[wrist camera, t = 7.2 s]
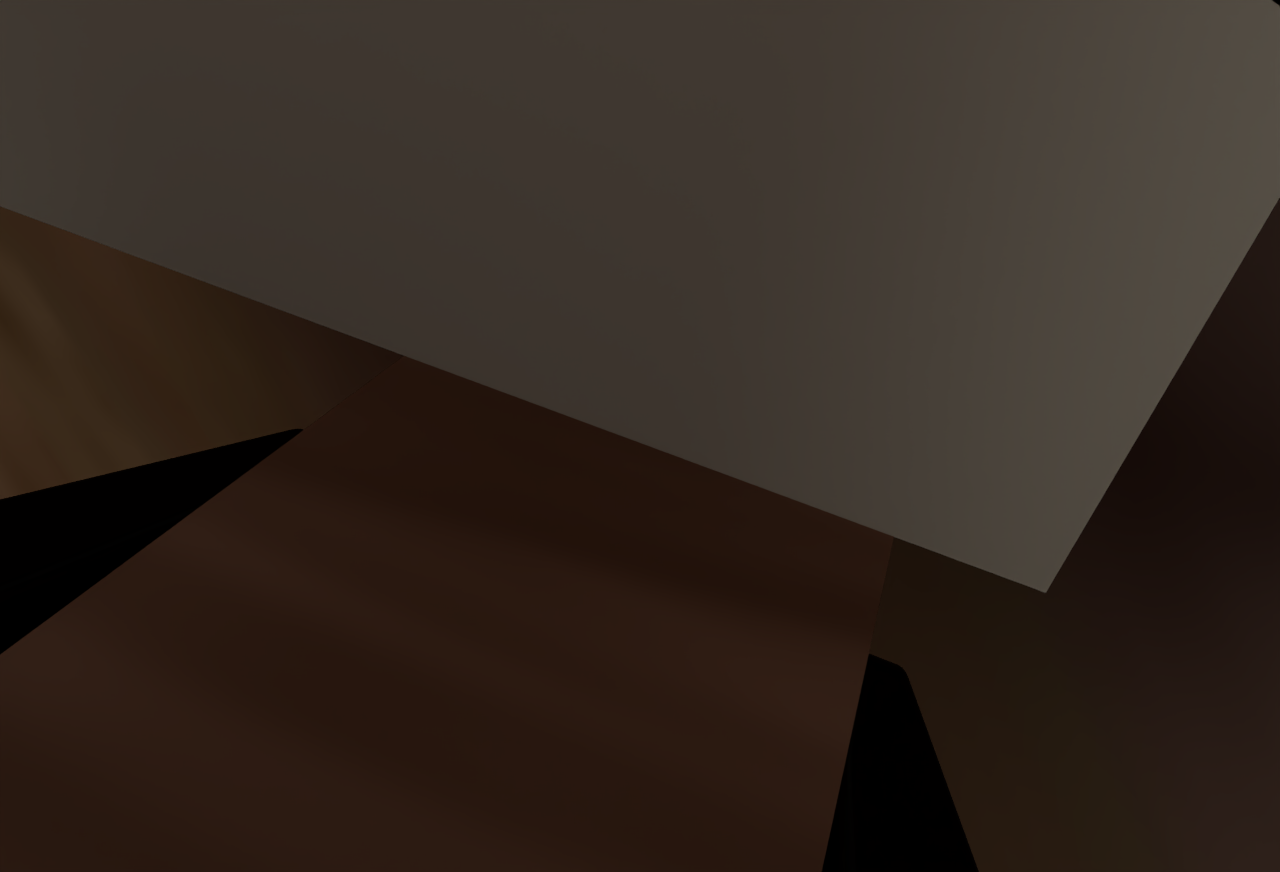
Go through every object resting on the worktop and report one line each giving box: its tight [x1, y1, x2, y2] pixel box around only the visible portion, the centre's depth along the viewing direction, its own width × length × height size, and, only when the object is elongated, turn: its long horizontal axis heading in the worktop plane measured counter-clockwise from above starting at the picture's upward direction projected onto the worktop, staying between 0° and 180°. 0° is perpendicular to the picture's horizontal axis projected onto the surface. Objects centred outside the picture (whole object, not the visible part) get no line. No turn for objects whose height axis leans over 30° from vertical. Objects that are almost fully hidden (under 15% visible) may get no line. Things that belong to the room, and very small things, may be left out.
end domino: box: [0, 356, 894, 872], centre depth 8 cm, size 2×5×10 cm, turn 79°
